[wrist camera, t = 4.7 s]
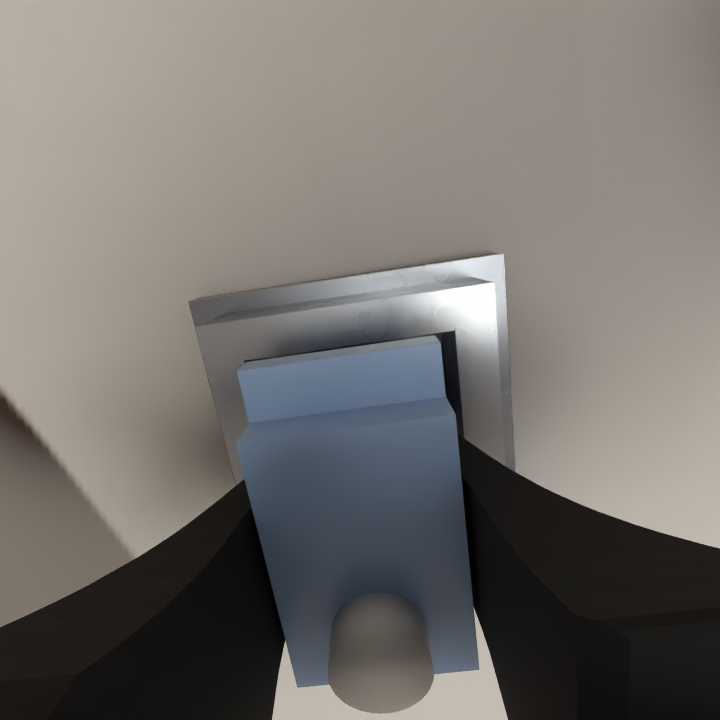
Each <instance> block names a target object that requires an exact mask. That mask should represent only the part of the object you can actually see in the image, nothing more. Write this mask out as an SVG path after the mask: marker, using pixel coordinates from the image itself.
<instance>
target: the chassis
mask: <svg viewBox="0 0 720 720" xmlns="http://www.w3.org/2000/svg"><path fill="white" fill-rule="evenodd" d="M189 305H190V309H191V313H192V317H193V320H194V324H195V330H196V334H197V338H198V341H199V345H200V349H201V353H202V357H203V361H204V364H205V368H206V372H207V376H208V380H209V383H210V387H211V391H212V395H213V399H214V403H215V406H216V410H217V414H218V418H219V422H220V425H221V429H222V433H223V437H224V441H225V444H226V448H227V452H228V456H229V460H230V464H231V467H232V471H233V475H234V479H235V483H236V485H238V484H239V483H240V482H241V481H242V480H243V479H244V476H243V472H242V468H241V464H240V460H239V456H238V452H237V448H236V444H235V443H236V442H237V440H238V439H239V437H240V436H241V434H242V433H243V431H244V430H245V428H246V427H247V425H248V424H249V421H248V417H247V413H246V408H245V404H244V400H243V396H242V392H241V388H240V384H239V379H238V375H237V370H239V369H240V368H241V367H242V366H243V365H244V364H245V363H246V362H251V361H258V360H265V359H272V358H279V357H286V356H293V355H300V354H307V353H314V352H321V351H328V350H335V349H342V348H349V347H356V346H363V345H370V344H377V343H384V342H391V341H398V340H405V339H412V338H419V337H426V336H433V335H435V336H436V338H437V339H438V340H439V341H440V343H441V353H442V363H443V373H444V383H445V393H446V398H447V400H448V402H449V403H450V405H451V407H452V409H453V411H454V413H455V414H456V425H457V434H459V435H460V436H462V437H463V438H465V439H466V440H467V441H469V442H470V443H472V444H473V445H474V446H476V447H477V448H479V449H480V450H482V451H483V452H484V453H486V454H487V455H489V456H490V457H492V458H493V459H495V460H496V461H498V462H500V463H501V464H503V465H504V466H506V467H508V468H509V469H511V470H512V471H514V472H515V459H514V440H513V421H512V402H511V383H510V365H509V346H508V327H507V308H506V289H505V270H504V254H499V253H494V254H487V255H481V256H474V257H468V258H461V259H454V260H448V261H441V262H435V263H428V264H421V265H415V266H408V267H402V268H395V269H389V270H382V271H375V272H369V273H362V274H356V275H349V276H342V277H336V278H329V279H323V280H316V281H310V282H303V283H296V284H290V285H283V286H277V287H270V288H263V289H257V290H250V291H244V292H237V293H231V294H224V295H217V296H211V297H204V298H199V299H195V300H192V301H189Z"/></svg>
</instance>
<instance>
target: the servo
mask: <svg viewBox="0 0 720 720" xmlns="http://www.w3.org/2000/svg"><path fill="white" fill-rule="evenodd" d="M237 375H238V379H239V384H240V388H241V392H242V396H243V400H244V404H245V408H246V413H247V417H248V421H249V424H248V425H247V427H246V428H245V430H244V431H243V433H242V434H241V436H240V437H239V439H238V440H237V442H236V443H235V444H236V448H237V452H238V456H239V460H240V464H241V468H242V472H243V476H244V479H245V483H246V487H247V491H248V495H249V499H250V503H251V507H252V511H253V515H254V519H255V523H256V526H257V530H258V534H259V538H260V542H261V546H262V550H263V554H264V558H265V562H266V566H267V570H268V574H269V577H270V581H271V585H272V589H273V593H274V597H275V601H276V605H277V609H278V613H279V617H280V621H281V624H282V628H283V632H284V636H285V640H286V644H287V648H288V652H289V656H290V660H291V664H292V668H293V672H294V675H295V679H296V683H297V687H308V686H318V685H328V684H330V686H331V688H332V690H333V691H334V693H335V694H336V695H337V696H338V697H339V698H340V699H341V700H342V701H343V702H345V703H346V704H348V705H349V706H351V707H353V708H356V709H358V710H361V711H365V712H370V713H392V712H397V711H401V710H404V709H406V708H409V707H411V706H413V705H414V704H416V703H417V702H419V701H420V700H421V699H422V698H423V697H424V696H425V695H426V694H427V692H428V691H429V689H430V687H431V685H432V682H433V678H434V674H440V673H450V672H461V671H471V670H479V661H478V650H477V640H476V629H475V618H474V607H473V597H472V586H471V575H470V564H469V554H468V543H467V532H466V521H465V511H464V500H463V489H462V478H461V468H460V457H459V446H458V435H457V425H456V414H455V413H454V411H453V409H452V407H451V405H450V403H449V402H448V400H447V398H446V393H445V383H444V373H443V363H442V353H441V343H440V341H439V340H438V339H437V338H436V336H435V335H433V336H426V337H419V338H412V339H405V340H398V341H391V342H384V343H377V344H370V345H363V346H356V347H349V348H342V349H335V350H328V351H321V352H314V353H307V354H300V355H293V356H286V357H279V358H272V359H265V360H258V361H251V362H246V363H245V364H244V365H243V366H242V367H241V368H240V369H239V370H237Z"/></svg>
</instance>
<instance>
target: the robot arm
mask: <svg viewBox="0 0 720 720" xmlns="http://www.w3.org/2000/svg"><path fill="white" fill-rule="evenodd" d="M457 435H458V446H459V457H460V468H461V478H462V489H463V500H464V511H465V521H466V532H467V543H468V554H469V564H470V575H471V586H472V597H473V606H474V609H475V611H476V614H477V617H478V619H479V622H480V625H481V627H482V630H483V633H484V636H485V639H486V642H487V645H488V648H489V651H490V655H491V659H492V662H493V666H494V669H495V673H496V677H497V680H498V684H499V688H500V691H501V695H502V698H503V702H504V706H505V709H506V713H507V717H508V720H720V548H715V547H711V546H707V545H703V544H700V543H696V542H692V541H689V540H685V539H681V538H678V537H674V536H670V535H667V534H663V533H660V532H657V531H653V530H650V529H647V528H644V527H641V526H637V525H634V524H631V523H628V522H626V521H623V520H620V519H617V518H614V517H612V516H609V515H606V514H603V513H600V512H598V511H595V510H593V509H590V508H588V507H585V506H583V505H580V504H578V503H576V502H573V501H571V500H569V499H567V498H564V497H562V496H560V495H558V494H556V493H553V492H551V491H549V490H547V489H545V488H543V487H541V486H539V485H537V484H536V483H534V482H532V481H530V480H528V479H527V478H525V477H523V476H521V475H519V474H517V473H516V472H514V471H512V470H511V469H509V468H508V467H506V466H504V465H503V464H501V463H500V462H498V461H496V460H495V459H493V458H492V457H490V456H489V455H487V454H486V453H484V452H483V451H482V450H480V449H479V448H477V447H476V446H474V445H473V444H472V443H470V442H469V441H467V440H466V439H465V438H463V437H462V436H460V435H459V434H457ZM284 643H285V636H284V632H283V628H282V624H281V621H280V617H279V613H278V609H277V605H276V601H275V597H274V593H273V589H272V585H271V581H270V577H269V574H268V570H267V566H266V562H265V558H264V554H263V550H262V546H261V542H260V538H259V534H258V530H257V526H256V523H255V519H254V515H253V511H252V507H251V503H250V499H249V495H248V491H247V487H246V483H245V479H243V480H242V481H241V482H240V483H239V484H238V485H236V486H235V487H234V488H233V489H232V490H230V491H229V492H228V493H227V494H226V495H224V496H223V497H222V498H221V499H220V500H218V501H217V502H216V503H214V504H213V505H212V506H211V507H209V508H208V509H207V510H205V511H204V512H203V513H202V514H200V515H199V516H198V517H196V518H195V519H194V520H193V521H191V522H190V523H189V524H187V525H186V526H185V527H183V528H182V529H180V530H179V531H178V532H176V533H175V534H173V535H172V536H170V537H169V538H167V539H166V540H164V541H163V542H161V543H160V544H158V545H157V546H155V547H153V548H152V549H150V550H149V551H147V552H146V553H144V554H142V555H141V556H139V557H138V558H136V559H134V560H132V561H131V562H129V563H127V564H125V565H124V566H122V567H120V568H118V569H116V570H115V571H113V572H111V573H109V574H108V575H106V576H104V577H102V578H100V579H99V580H97V581H95V582H94V583H92V584H90V585H88V586H86V587H84V588H82V589H80V590H78V591H76V592H74V593H72V594H71V595H68V596H66V597H65V598H62V599H60V600H58V601H56V602H54V603H52V604H50V605H48V606H46V607H44V608H42V609H40V610H38V611H35V612H33V613H31V614H29V615H27V616H25V617H23V618H20V619H18V620H16V621H14V622H11V623H9V624H7V625H5V626H2V627H0V720H272V714H273V707H274V700H275V693H276V686H277V679H278V672H279V667H280V662H281V657H282V652H283V648H284Z"/></svg>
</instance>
